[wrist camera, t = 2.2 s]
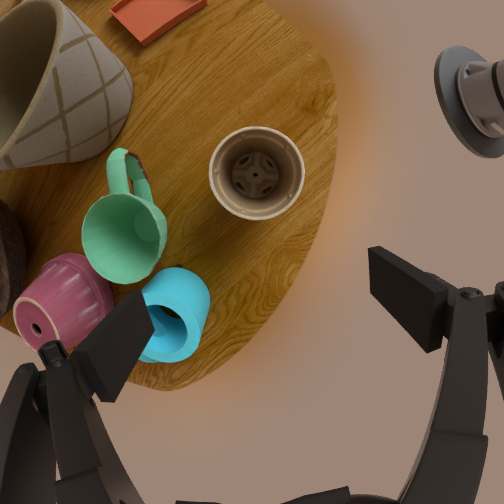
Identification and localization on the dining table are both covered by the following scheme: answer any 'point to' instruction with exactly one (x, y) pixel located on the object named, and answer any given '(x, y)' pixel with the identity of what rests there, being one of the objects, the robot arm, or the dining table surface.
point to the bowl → (11, 259)
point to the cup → (185, 305)
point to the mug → (124, 224)
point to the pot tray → (153, 16)
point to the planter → (56, 88)
